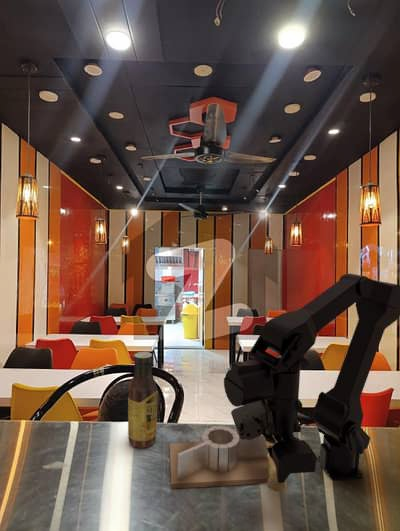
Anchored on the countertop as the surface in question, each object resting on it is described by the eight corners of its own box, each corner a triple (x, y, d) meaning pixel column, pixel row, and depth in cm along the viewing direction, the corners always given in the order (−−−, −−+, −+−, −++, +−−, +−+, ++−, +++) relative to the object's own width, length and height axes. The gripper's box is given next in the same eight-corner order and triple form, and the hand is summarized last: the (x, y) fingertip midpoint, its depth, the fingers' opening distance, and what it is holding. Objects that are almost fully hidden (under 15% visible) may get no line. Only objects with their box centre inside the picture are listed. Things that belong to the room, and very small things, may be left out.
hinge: (262, 445, 78) (263, 424, 78) (275, 475, 69) (276, 451, 69) (176, 449, 76) (176, 427, 76) (177, 480, 67) (178, 455, 67)
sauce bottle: (151, 451, 77) (151, 362, 74) (123, 447, 78) (122, 359, 76) (160, 433, 83) (161, 351, 81) (134, 430, 85) (134, 348, 82)
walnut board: (260, 443, 81) (260, 439, 80) (276, 482, 69) (277, 477, 69) (169, 447, 78) (169, 443, 78) (171, 488, 67) (171, 483, 67)
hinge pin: (284, 474, 68) (287, 435, 67) (293, 493, 63) (296, 451, 62) (260, 476, 67) (262, 436, 66) (267, 494, 63) (270, 452, 62)
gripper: (226, 370, 71) (224, 443, 73) (249, 424, 53) (244, 520, 55) (281, 369, 73) (277, 441, 75) (322, 421, 54) (315, 515, 56)
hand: (277, 474), depth 65 cm, fingers closed on hinge pin, 4 cm apart
